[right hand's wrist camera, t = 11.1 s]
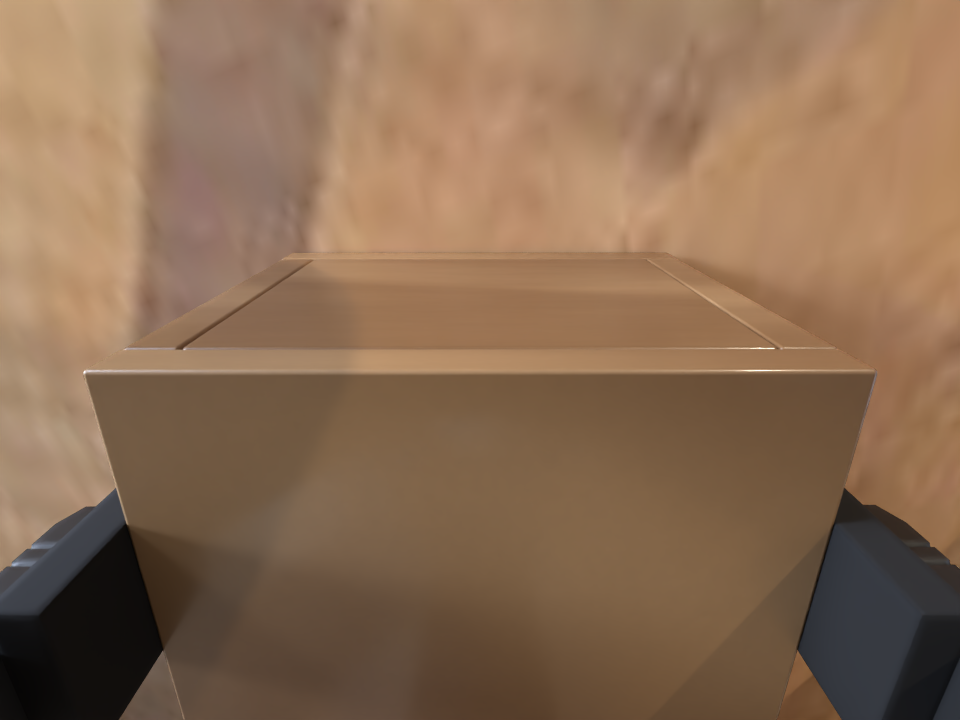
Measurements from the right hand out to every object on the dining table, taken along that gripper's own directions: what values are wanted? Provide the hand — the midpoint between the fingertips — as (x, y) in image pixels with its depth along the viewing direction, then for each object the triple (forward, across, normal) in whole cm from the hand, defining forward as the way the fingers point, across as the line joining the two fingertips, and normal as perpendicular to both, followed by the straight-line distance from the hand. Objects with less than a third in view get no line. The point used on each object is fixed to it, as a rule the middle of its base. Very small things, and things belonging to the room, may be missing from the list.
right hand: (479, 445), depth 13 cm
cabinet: (+4, 0, -4) cm, 6 cm away
